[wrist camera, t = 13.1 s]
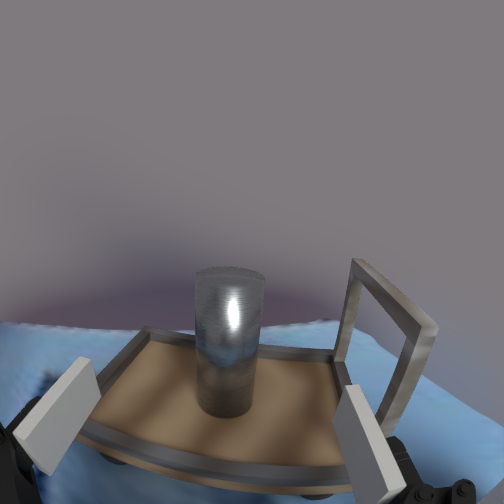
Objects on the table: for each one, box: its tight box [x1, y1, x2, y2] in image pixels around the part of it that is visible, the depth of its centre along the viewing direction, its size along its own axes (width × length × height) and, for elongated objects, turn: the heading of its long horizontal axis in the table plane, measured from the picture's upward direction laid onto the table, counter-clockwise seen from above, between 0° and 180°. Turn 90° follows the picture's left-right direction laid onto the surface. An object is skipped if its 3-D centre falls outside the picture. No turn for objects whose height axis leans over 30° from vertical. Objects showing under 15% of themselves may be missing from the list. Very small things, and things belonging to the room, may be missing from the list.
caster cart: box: [74, 258, 439, 500], centre depth 22 cm, size 24×18×19 cm
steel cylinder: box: [195, 267, 265, 419], centre depth 21 cm, size 5×5×12 cm
